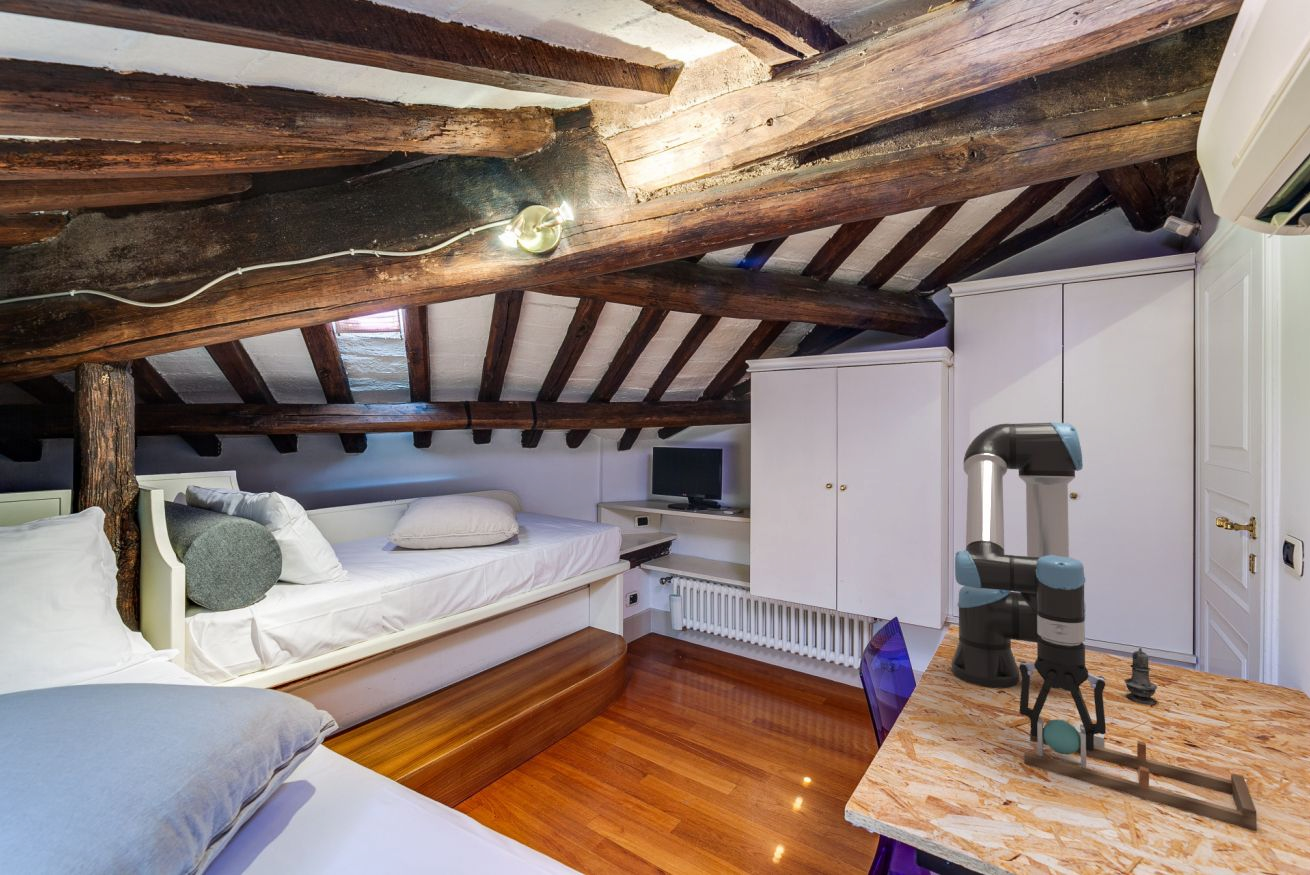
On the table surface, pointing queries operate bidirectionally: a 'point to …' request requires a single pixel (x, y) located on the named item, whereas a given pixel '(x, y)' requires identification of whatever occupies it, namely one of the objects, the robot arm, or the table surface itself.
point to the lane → (1142, 789)
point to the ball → (1061, 736)
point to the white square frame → (1097, 737)
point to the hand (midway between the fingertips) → (1061, 759)
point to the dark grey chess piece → (1140, 680)
